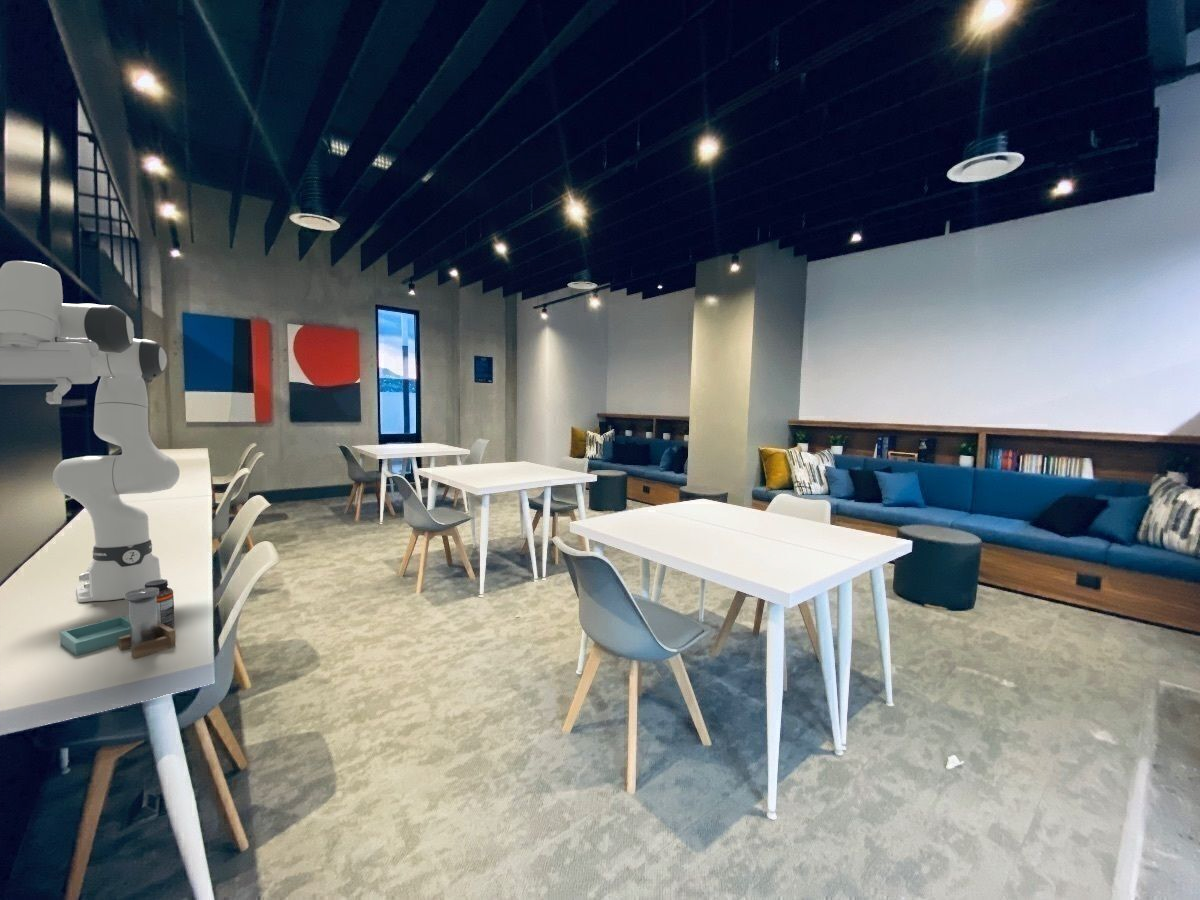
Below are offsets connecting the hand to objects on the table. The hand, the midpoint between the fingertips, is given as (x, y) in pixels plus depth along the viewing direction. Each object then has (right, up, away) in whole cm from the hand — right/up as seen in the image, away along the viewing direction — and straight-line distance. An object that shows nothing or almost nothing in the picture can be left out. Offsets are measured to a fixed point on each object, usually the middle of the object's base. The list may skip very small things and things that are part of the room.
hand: (16, 403), depth 90 cm
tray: (-7, -51, +22) cm, 56 cm away
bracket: (+6, -51, +18) cm, 55 cm away
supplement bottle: (+1, -51, +28) cm, 58 cm away
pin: (+6, -51, +18) cm, 55 cm away
